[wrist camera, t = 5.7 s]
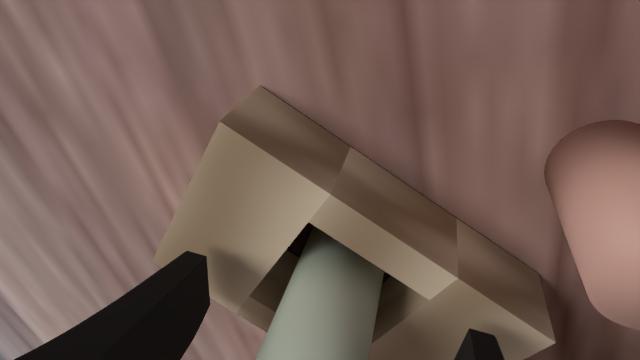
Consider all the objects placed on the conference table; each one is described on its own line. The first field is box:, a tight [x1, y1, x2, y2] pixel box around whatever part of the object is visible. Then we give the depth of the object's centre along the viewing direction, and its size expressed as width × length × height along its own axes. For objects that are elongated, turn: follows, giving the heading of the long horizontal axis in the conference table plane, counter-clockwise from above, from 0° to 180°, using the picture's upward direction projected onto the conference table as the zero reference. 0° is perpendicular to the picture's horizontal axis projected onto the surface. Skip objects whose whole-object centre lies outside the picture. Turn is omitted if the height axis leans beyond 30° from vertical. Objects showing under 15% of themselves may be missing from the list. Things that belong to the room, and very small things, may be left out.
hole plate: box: [152, 86, 556, 360], centre depth 13 cm, size 10×6×2 cm, turn 59°
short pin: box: [544, 120, 640, 331], centre depth 9 cm, size 3×3×4 cm
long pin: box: [255, 226, 384, 360], centre depth 11 cm, size 3×3×8 cm
